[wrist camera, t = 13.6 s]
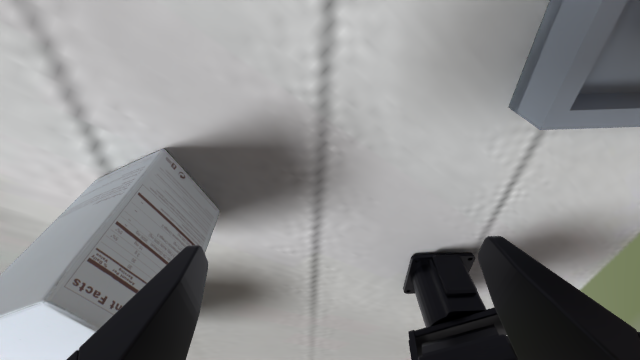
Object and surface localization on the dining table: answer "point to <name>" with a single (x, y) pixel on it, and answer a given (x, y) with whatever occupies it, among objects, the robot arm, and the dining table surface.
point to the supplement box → (100, 256)
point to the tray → (583, 67)
